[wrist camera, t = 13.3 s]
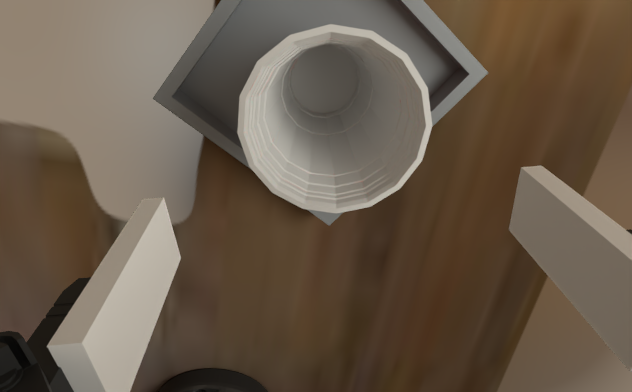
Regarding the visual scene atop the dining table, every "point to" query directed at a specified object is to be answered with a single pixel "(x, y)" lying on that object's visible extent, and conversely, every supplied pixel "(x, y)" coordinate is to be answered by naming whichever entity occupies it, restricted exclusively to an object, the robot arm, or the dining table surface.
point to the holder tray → (293, 17)
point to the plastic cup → (334, 119)
